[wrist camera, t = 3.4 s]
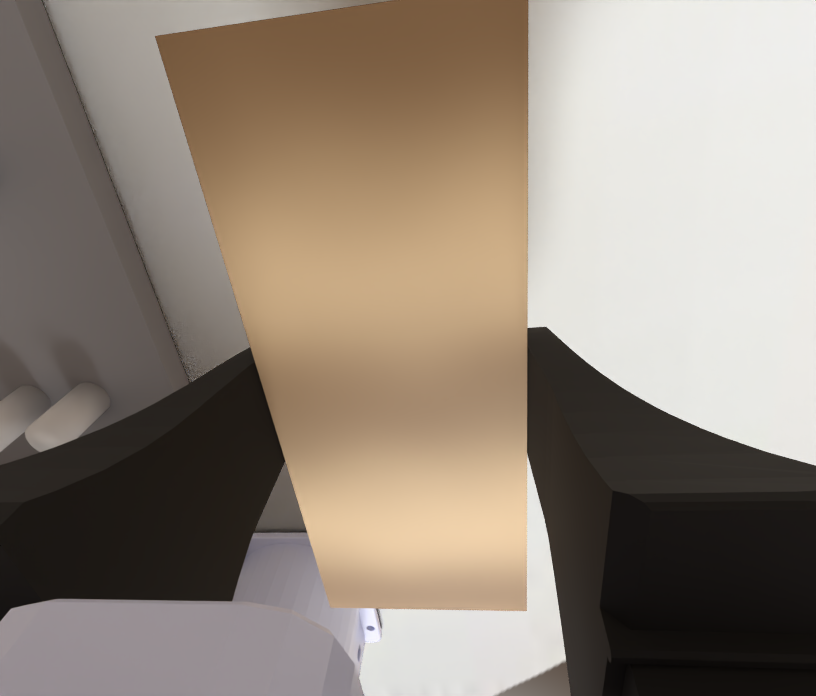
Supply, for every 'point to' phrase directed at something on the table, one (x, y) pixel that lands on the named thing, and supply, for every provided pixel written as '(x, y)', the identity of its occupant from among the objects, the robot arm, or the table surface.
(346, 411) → the shelf board
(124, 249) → the peg stand
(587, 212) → the table surface
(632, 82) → the table surface
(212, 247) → the table surface
